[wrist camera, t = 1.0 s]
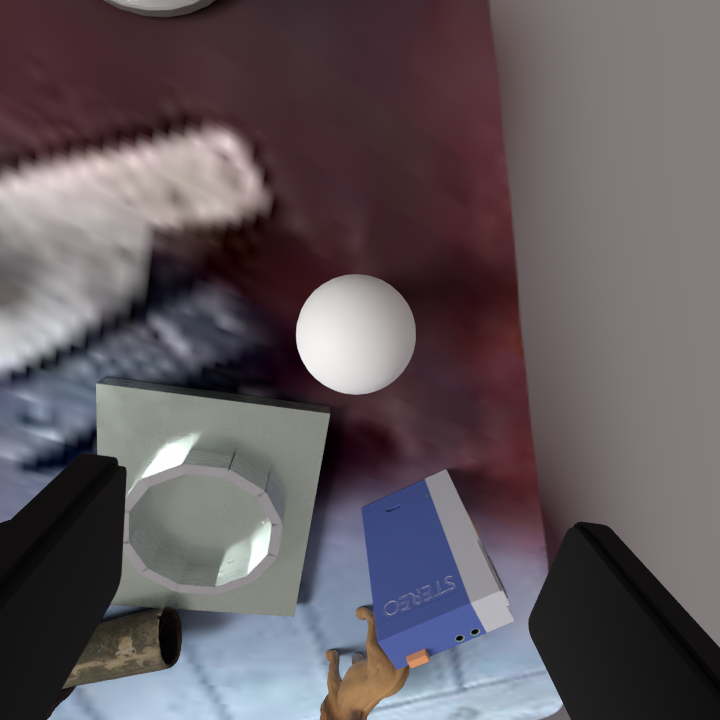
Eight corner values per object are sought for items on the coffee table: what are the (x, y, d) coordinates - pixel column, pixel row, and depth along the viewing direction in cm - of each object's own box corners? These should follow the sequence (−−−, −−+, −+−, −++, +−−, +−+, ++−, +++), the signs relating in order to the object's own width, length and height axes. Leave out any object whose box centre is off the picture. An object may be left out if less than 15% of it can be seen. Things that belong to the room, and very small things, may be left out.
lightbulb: (290, 325, 29) (271, 388, 19) (324, 243, 28) (323, 261, 17) (369, 357, 30) (392, 432, 20) (406, 280, 29) (451, 318, 18)
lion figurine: (358, 689, 42) (366, 808, 34) (308, 678, 41) (304, 799, 33) (421, 584, 38) (448, 689, 30) (368, 569, 37) (381, 674, 29)
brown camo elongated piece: (171, 590, 37) (145, 655, 31) (194, 643, 39) (174, 712, 34) (-32, 631, 36) (-93, 704, 31) (4, 682, 39) (-46, 757, 33)
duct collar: (104, 376, 29) (79, 395, 26) (330, 406, 32) (330, 427, 29) (107, 591, 36) (87, 626, 33) (295, 604, 38) (292, 638, 35)
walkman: (375, 530, 36) (398, 677, 25) (361, 507, 35) (378, 648, 24) (459, 493, 35) (522, 625, 24) (447, 468, 34) (507, 594, 23)
